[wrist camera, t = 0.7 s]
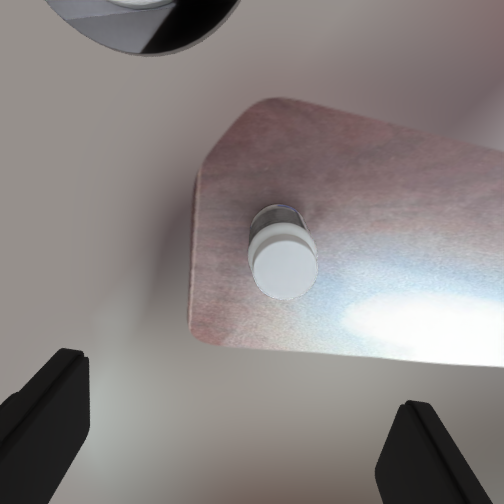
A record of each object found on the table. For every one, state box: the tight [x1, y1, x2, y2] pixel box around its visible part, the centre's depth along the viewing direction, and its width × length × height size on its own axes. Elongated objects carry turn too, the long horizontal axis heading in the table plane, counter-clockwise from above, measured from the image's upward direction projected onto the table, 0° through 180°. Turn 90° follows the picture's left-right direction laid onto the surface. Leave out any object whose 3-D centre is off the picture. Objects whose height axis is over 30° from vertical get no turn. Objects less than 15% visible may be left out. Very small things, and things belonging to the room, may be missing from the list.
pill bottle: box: [248, 204, 318, 300], centre depth 24 cm, size 5×5×8 cm
